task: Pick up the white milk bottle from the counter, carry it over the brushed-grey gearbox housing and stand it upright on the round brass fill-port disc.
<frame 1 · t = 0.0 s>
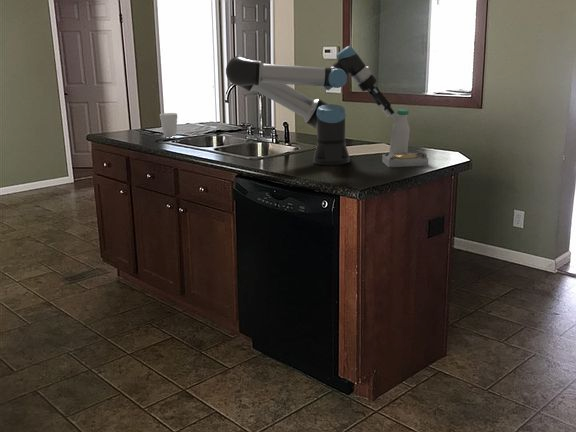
hand: (393, 117, 265), 16 cm above the worktop, tool tilted 35°, fingers open, 13 cm apart
gearbox housing: (404, 163, 248), on the worktop
milk bottle: (398, 156, 262), on the worktop, touching gripper
foam cup: (170, 138, 336), on the worktop
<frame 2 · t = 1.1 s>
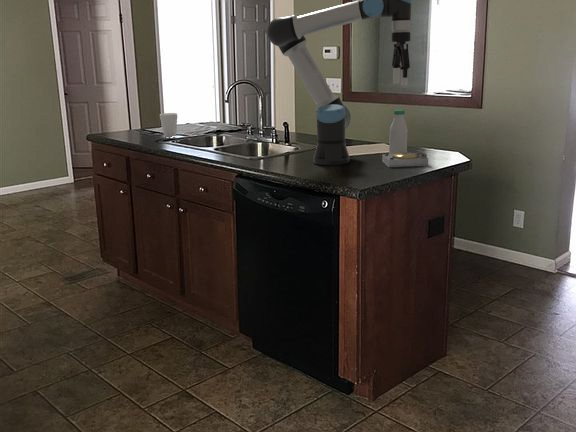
hand: (400, 84, 253), 31 cm above the worktop, tool pointing down, fingers open, 13 cm apart
milk bottle: (397, 157, 263), on the worktop
everything else where it was.
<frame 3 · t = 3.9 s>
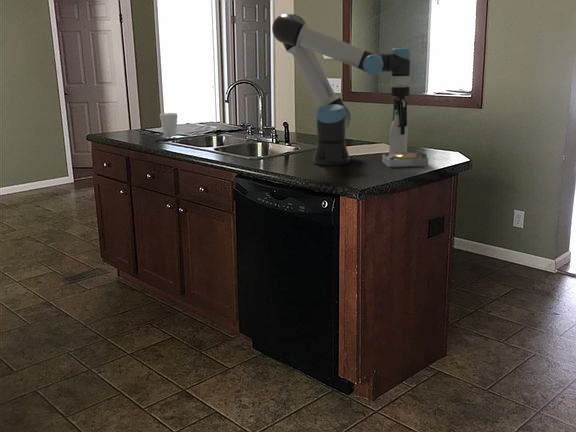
hand: (399, 140, 260), 7 cm above the worktop, tool pointing down, fingers closed on milk bottle, 8 cm apart
milk bottle: (397, 156, 263), on the worktop, touching gripper
everything else where it was.
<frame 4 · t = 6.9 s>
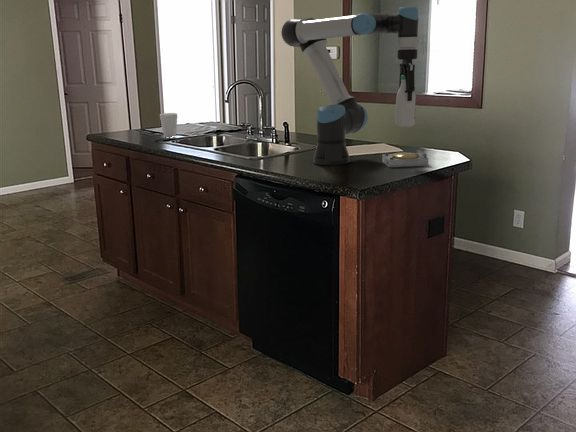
hand: (406, 108, 242), 22 cm above the worktop, tool pointing down, fingers closed on milk bottle, 7 cm apart
milk bottle: (404, 126, 244), point 15 cm above the worktop, touching gripper
everything else where it was.
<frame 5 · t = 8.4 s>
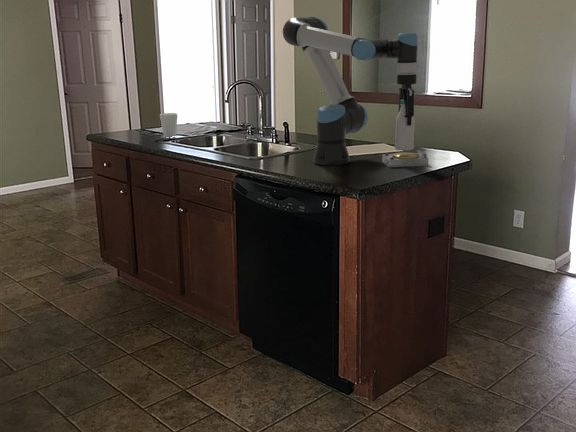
hand: (405, 131, 245), 13 cm above the worktop, tool pointing down, fingers closed on milk bottle, 7 cm apart
milk bottle: (404, 149, 247), point 6 cm above the worktop, touching gripper
everything else where it was.
when the fingers open (12 cm above the worktop, at t = 9.6 s): milk bottle stays where it is, resting on gearbox housing.
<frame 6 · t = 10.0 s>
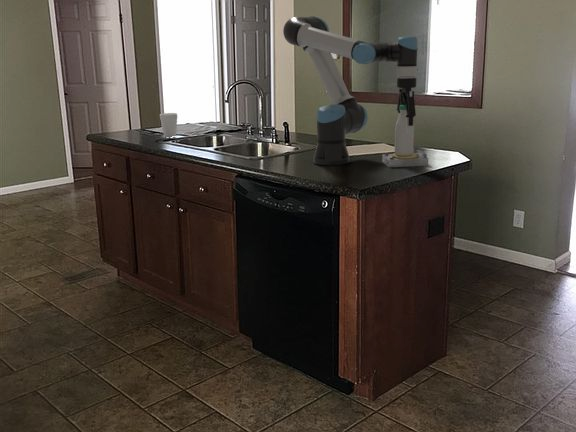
hand: (405, 131, 245), 13 cm above the worktop, tool pointing down, fingers open, 13 cm apart
milk bottle: (404, 155, 248), point 3 cm above the worktop, touching gearbox housing
everything else where it was.
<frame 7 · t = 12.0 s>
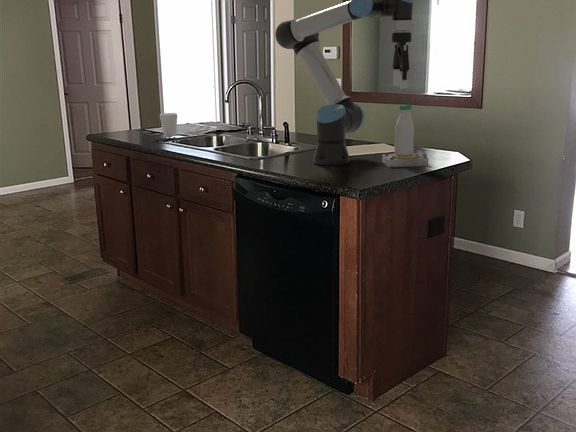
hand: (399, 87, 244), 30 cm above the worktop, tool pointing down, fingers open, 13 cm apart
nothing on the worktop moved.
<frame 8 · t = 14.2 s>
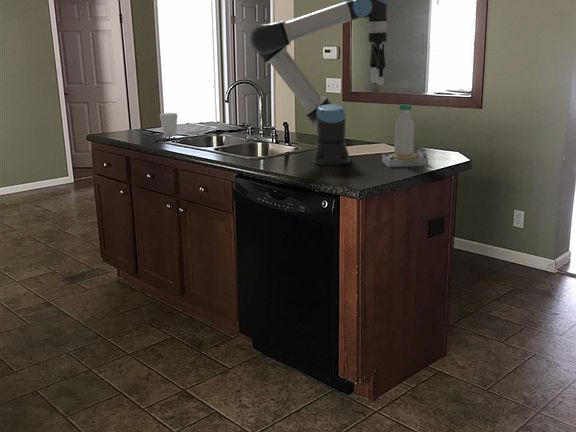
hand: (377, 83, 261), 31 cm above the worktop, tool pointing down, fingers open, 13 cm apart
nothing on the worktop moved.
at the end: milk bottle inside the target area on the gearbox housing (0.4 cm from its centre), point 3.4 cm above the gearbox housing's base; milk bottle tilted 0°; the gripper is holding nothing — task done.
